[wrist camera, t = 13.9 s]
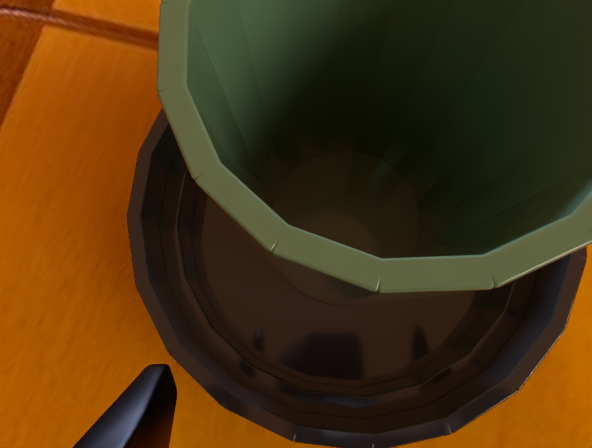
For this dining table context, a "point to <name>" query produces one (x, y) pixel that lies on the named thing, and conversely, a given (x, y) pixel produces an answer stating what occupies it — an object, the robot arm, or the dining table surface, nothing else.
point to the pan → (326, 327)
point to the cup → (387, 136)
